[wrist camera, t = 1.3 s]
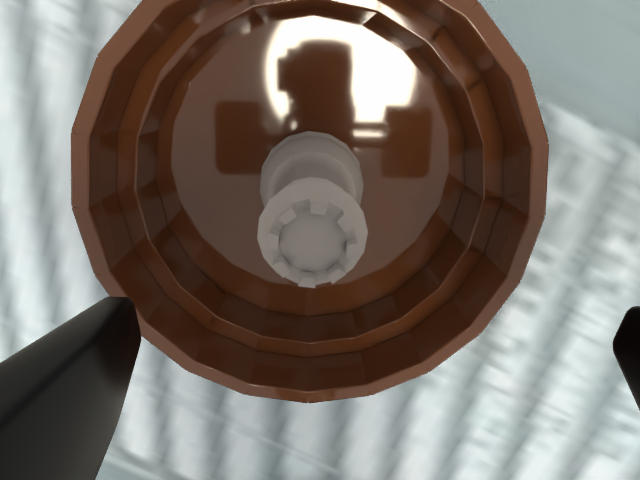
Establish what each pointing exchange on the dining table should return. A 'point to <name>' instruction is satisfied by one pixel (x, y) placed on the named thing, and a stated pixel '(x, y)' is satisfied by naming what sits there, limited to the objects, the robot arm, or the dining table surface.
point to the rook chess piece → (312, 209)
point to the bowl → (245, 176)
